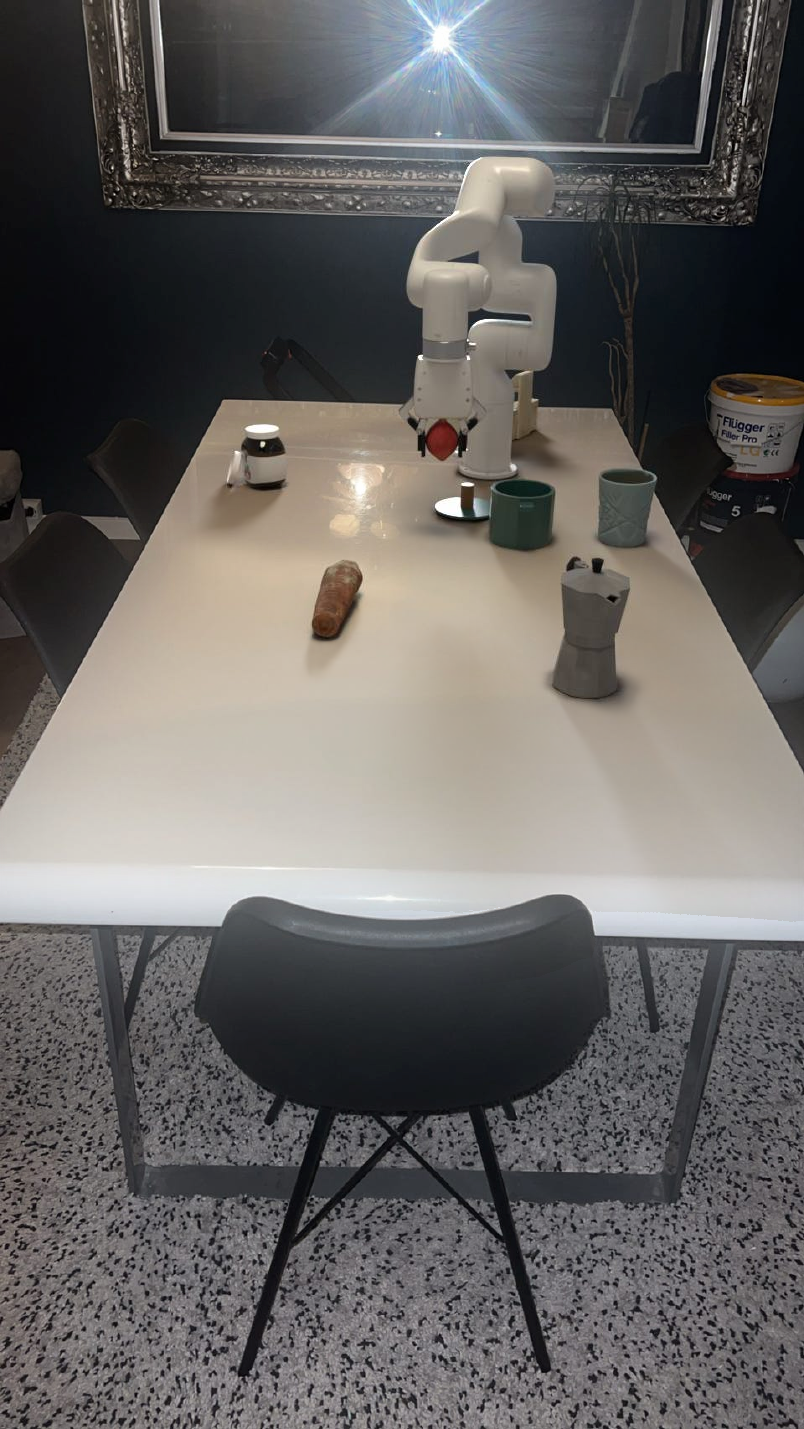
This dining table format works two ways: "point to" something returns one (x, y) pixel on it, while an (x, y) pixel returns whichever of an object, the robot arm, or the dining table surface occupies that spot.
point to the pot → (521, 513)
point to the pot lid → (464, 505)
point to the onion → (442, 439)
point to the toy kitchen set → (518, 407)
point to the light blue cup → (624, 505)
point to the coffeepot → (589, 628)
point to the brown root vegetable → (335, 596)
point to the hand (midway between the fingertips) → (441, 454)
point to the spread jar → (260, 458)
